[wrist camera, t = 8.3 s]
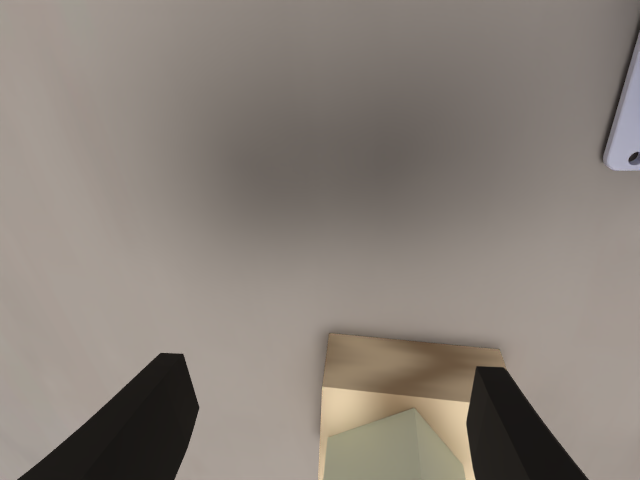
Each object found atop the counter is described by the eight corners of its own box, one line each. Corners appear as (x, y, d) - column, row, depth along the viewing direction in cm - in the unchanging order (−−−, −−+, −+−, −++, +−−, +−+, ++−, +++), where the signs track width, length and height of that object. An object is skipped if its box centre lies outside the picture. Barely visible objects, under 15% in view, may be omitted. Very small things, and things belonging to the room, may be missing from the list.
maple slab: (498, 344, 22) (520, 408, 19) (464, 447, 27) (477, 513, 24) (329, 328, 23) (322, 386, 20) (324, 431, 28) (317, 493, 24)
